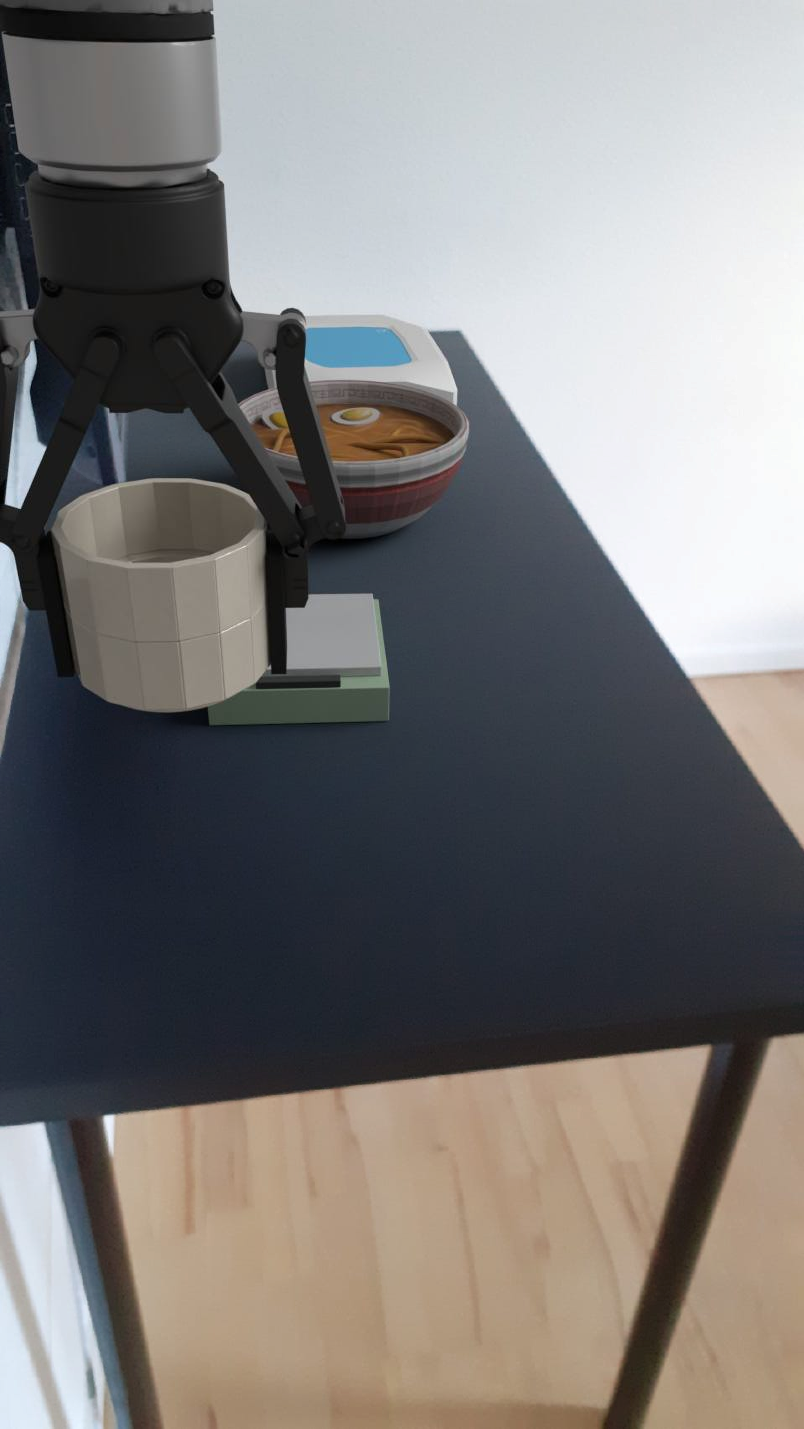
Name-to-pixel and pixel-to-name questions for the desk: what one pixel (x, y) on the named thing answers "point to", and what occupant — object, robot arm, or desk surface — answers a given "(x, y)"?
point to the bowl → (371, 448)
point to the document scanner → (374, 353)
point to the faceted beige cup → (164, 592)
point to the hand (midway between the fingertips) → (175, 661)
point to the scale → (320, 669)
